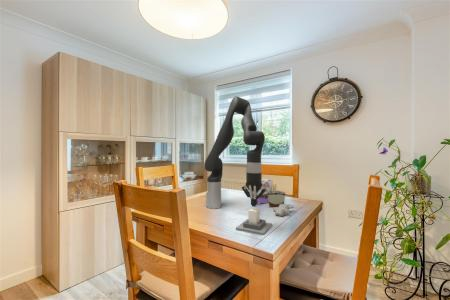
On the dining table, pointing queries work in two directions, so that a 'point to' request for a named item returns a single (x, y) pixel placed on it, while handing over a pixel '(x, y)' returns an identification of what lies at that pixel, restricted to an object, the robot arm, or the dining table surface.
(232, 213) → the dining table surface
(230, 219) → the dining table surface
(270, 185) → the candy box
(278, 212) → the bunny figurine
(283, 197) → the food container
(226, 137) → the robot arm
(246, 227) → the socket plate
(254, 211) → the plug
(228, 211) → the dining table surface
